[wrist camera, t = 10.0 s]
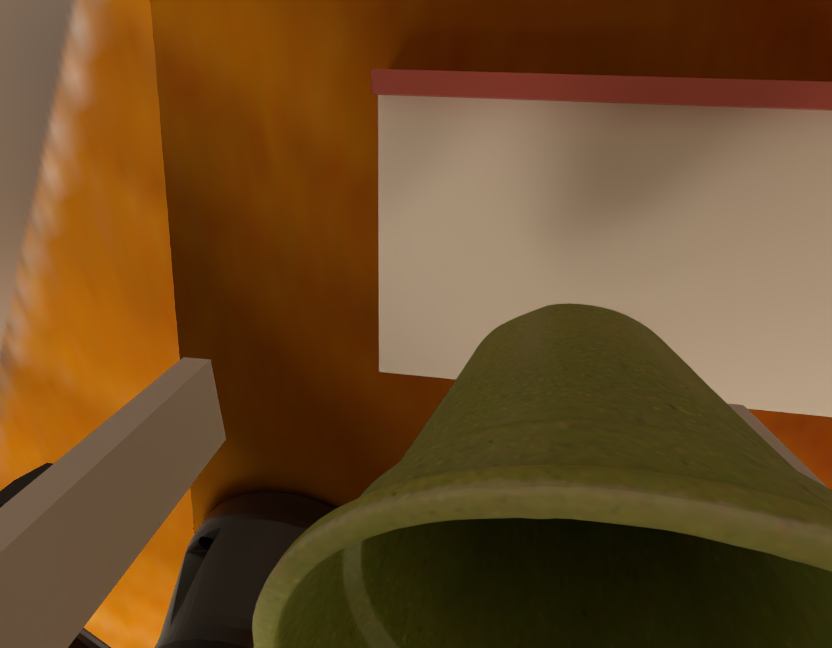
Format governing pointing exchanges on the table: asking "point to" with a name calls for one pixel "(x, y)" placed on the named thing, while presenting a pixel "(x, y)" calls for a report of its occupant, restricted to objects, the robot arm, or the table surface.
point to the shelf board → (611, 219)
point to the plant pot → (567, 514)
